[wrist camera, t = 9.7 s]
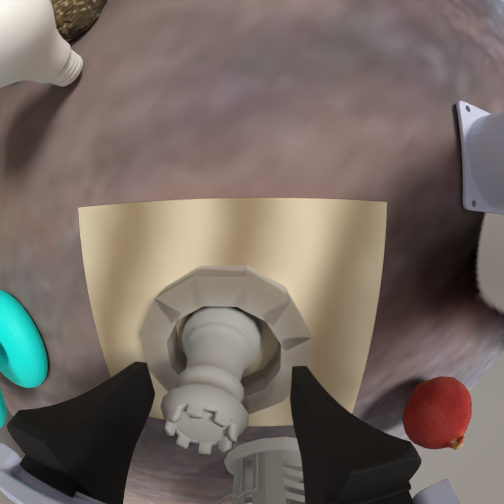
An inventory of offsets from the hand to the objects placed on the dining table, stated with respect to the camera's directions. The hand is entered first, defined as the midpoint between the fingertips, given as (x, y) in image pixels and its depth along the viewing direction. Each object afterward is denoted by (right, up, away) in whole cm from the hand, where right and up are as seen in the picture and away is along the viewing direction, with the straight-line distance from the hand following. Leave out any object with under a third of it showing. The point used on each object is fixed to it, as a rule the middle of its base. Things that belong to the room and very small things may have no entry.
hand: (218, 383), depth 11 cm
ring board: (0, +1, +5) cm, 5 cm away
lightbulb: (-11, +19, +2) cm, 22 cm away
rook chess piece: (0, +2, +4) cm, 4 cm away
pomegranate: (+16, -5, +7) cm, 18 cm away
